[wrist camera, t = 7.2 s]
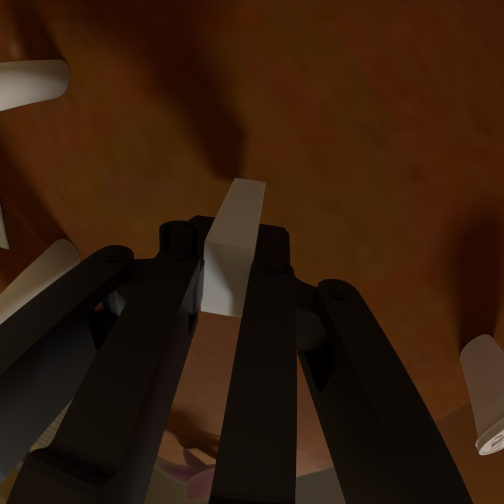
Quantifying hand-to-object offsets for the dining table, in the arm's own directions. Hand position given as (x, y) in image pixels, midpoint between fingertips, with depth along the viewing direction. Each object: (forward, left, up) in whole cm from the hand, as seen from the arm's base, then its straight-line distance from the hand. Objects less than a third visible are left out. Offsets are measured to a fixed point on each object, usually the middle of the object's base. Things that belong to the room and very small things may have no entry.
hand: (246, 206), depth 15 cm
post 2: (+13, +6, -2) cm, 15 cm away
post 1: (+13, -6, -2) cm, 15 cm away
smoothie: (-22, +10, -2) cm, 24 cm away
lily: (0, +33, -2) cm, 33 cm away
